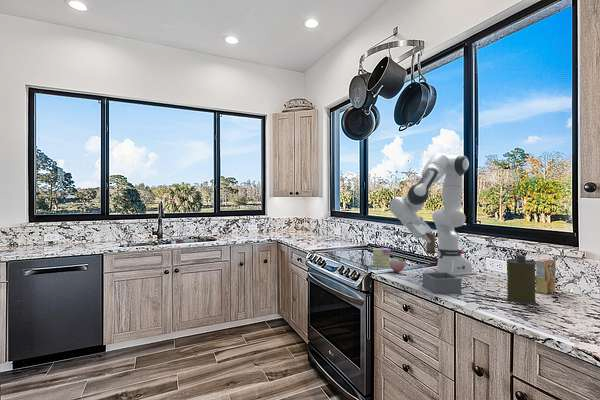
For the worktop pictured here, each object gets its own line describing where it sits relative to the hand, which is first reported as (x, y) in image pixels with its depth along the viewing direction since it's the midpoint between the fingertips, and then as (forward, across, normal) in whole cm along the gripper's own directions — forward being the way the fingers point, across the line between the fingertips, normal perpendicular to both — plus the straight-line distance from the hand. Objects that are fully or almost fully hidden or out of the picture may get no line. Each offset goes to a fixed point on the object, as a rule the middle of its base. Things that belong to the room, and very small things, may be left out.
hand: (432, 241), depth 157 cm
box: (-13, +32, +46) cm, 58 cm away
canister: (+43, +2, -9) cm, 44 cm away
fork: (0, +48, +34) cm, 59 cm away
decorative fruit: (-2, +20, +35) cm, 41 cm away
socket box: (+20, -2, +13) cm, 24 cm away
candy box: (+49, +24, -15) cm, 57 cm away
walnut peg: (+4, 0, +5) cm, 6 cm away
